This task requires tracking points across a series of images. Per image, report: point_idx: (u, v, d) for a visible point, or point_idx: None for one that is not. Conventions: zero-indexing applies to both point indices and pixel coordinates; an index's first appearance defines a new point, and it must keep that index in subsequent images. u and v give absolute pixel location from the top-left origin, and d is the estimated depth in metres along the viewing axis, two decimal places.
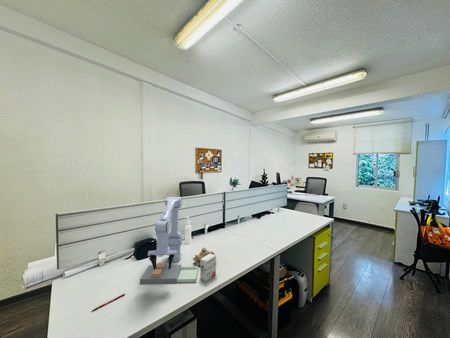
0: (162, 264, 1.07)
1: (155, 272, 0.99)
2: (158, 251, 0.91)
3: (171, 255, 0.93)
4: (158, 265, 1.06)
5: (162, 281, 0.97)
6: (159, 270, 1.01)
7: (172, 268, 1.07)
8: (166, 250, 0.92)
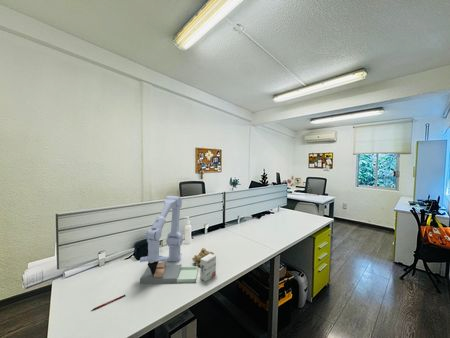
0: (162, 264, 1.07)
1: (158, 272, 0.99)
2: (149, 257, 0.97)
3: None
4: (158, 265, 1.06)
5: (162, 281, 0.97)
6: (162, 270, 1.01)
7: (172, 268, 1.07)
8: (157, 256, 0.99)
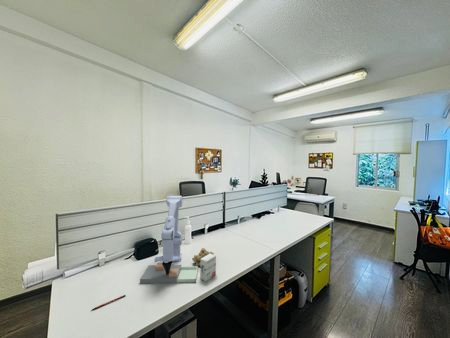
0: None
1: (172, 272, 1.00)
2: (164, 257, 0.98)
3: None
4: (158, 265, 1.06)
5: (162, 281, 0.97)
6: (176, 270, 1.02)
7: (172, 268, 1.07)
8: (171, 256, 0.99)
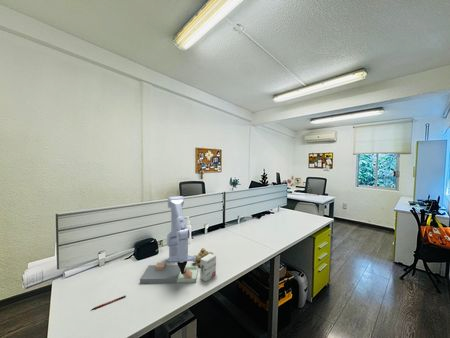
0: (162, 264, 1.07)
1: (188, 273, 1.00)
2: (179, 257, 0.98)
3: None
4: (158, 265, 1.06)
5: (162, 281, 0.97)
6: (190, 273, 1.02)
7: (172, 268, 1.07)
8: (186, 256, 1.00)
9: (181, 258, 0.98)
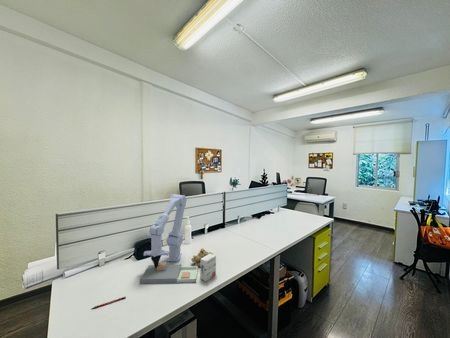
0: (163, 264, 1.07)
1: (184, 275, 1.00)
2: (152, 251, 1.04)
3: None
4: (159, 265, 1.06)
5: (162, 281, 0.97)
6: (188, 273, 1.02)
7: (172, 268, 1.07)
8: (159, 251, 1.05)
9: (154, 252, 1.03)
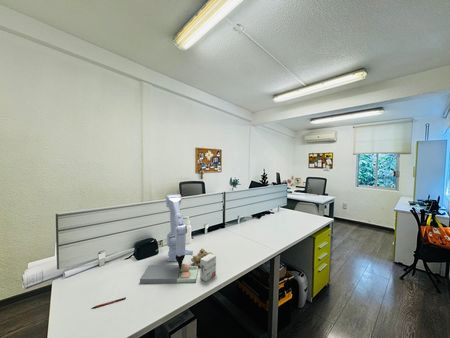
0: (187, 266, 1.07)
1: (184, 275, 1.00)
2: (177, 251, 1.05)
3: None
4: (183, 268, 1.06)
5: (162, 281, 0.97)
6: (188, 273, 1.02)
7: (172, 268, 1.07)
8: (184, 250, 1.06)
9: (179, 252, 1.04)
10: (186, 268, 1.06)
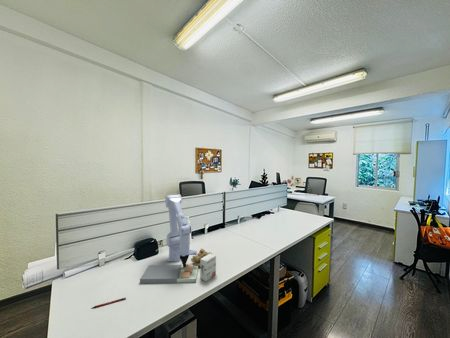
0: (190, 267, 1.07)
1: (184, 275, 1.00)
2: (181, 251, 1.05)
3: None
4: (187, 268, 1.06)
5: (162, 281, 0.97)
6: (188, 273, 1.02)
7: (172, 268, 1.07)
8: (188, 250, 1.06)
9: (183, 252, 1.04)
10: (189, 268, 1.06)
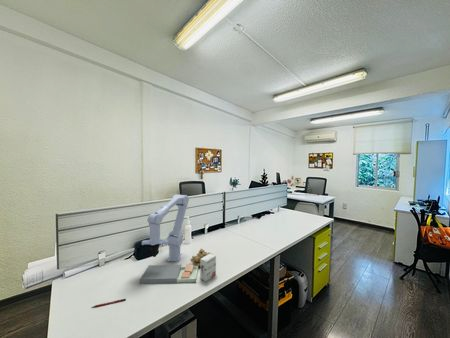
0: (191, 267, 1.07)
1: (184, 275, 1.00)
2: (151, 240, 1.02)
3: None
4: (187, 268, 1.06)
5: (162, 281, 0.97)
6: (188, 273, 1.02)
7: (172, 268, 1.07)
8: (158, 239, 1.04)
9: (152, 241, 1.02)
10: (190, 268, 1.06)
